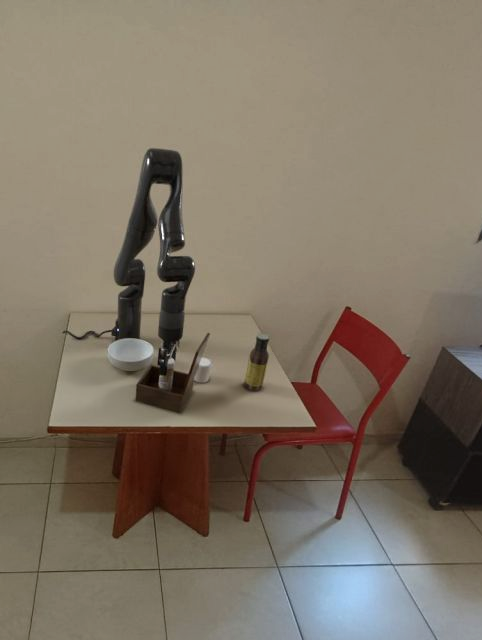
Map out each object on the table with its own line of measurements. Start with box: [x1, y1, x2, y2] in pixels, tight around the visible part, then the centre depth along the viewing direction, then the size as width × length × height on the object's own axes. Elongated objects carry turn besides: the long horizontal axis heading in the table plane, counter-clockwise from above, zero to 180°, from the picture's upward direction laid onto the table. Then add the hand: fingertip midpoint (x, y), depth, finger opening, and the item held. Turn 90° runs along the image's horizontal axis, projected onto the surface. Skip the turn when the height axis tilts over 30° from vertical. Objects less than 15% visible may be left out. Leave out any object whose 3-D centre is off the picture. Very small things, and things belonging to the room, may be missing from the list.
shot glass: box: [194, 356, 214, 384], centre depth 156 cm, size 7×7×7 cm
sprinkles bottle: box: [159, 358, 176, 392], centre depth 144 cm, size 5×5×13 cm
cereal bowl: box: [107, 338, 155, 372], centre depth 162 cm, size 17×17×7 cm
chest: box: [135, 364, 194, 414], centre depth 147 cm, size 15×13×7 cm
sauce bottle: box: [244, 333, 270, 392], centre depth 149 cm, size 6×6×20 cm
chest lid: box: [181, 332, 211, 396], centre depth 137 cm, size 16×13×1 cm
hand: (167, 368), depth 142 cm, fingers open, 8 cm apart
